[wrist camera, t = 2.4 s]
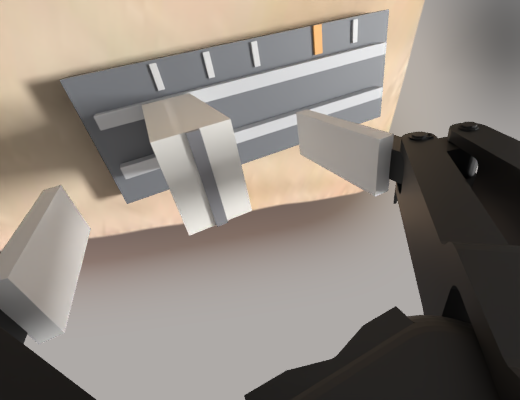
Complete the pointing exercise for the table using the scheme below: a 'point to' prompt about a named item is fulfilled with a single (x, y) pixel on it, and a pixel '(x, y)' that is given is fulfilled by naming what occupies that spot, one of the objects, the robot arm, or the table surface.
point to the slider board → (236, 92)
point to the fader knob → (198, 160)
